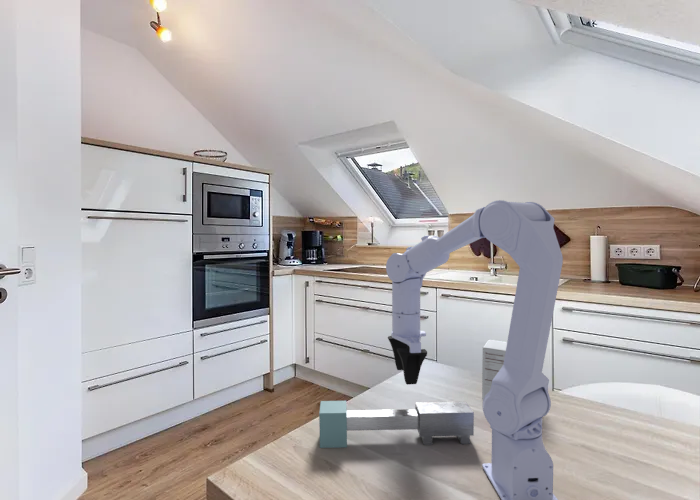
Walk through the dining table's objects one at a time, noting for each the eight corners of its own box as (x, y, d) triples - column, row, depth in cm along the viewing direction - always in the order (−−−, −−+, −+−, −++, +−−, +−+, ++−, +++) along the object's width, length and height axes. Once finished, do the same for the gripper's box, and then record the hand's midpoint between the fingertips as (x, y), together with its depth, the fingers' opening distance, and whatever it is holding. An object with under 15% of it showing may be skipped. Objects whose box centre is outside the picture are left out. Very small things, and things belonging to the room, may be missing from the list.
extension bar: (428, 429, 72) (428, 415, 72) (337, 431, 72) (337, 417, 72) (425, 422, 75) (425, 408, 75) (337, 423, 75) (337, 410, 75)
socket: (347, 447, 71) (346, 412, 71) (319, 447, 71) (319, 413, 71) (346, 432, 76) (346, 400, 76) (321, 433, 76) (320, 401, 76)
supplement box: (487, 388, 96) (488, 338, 95) (519, 395, 92) (520, 343, 92) (481, 400, 90) (481, 346, 89) (515, 407, 86) (516, 351, 85)
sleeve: (473, 443, 72) (473, 412, 71) (419, 444, 72) (419, 413, 71) (465, 431, 76) (466, 401, 76) (415, 432, 76) (415, 402, 76)
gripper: (436, 319, 73) (436, 389, 73) (415, 303, 87) (415, 363, 88) (399, 320, 72) (400, 391, 73) (384, 304, 86) (384, 364, 87)
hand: (406, 376), depth 80 cm, fingers open, 7 cm apart
